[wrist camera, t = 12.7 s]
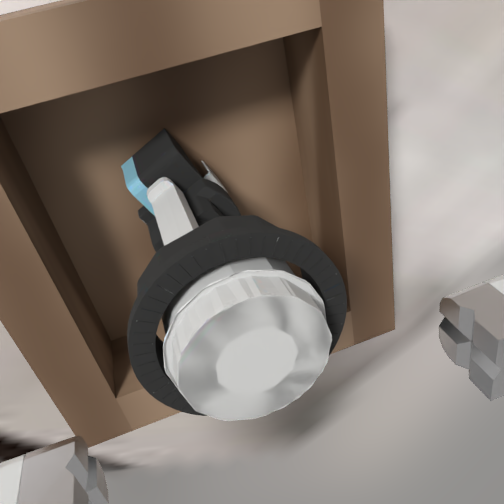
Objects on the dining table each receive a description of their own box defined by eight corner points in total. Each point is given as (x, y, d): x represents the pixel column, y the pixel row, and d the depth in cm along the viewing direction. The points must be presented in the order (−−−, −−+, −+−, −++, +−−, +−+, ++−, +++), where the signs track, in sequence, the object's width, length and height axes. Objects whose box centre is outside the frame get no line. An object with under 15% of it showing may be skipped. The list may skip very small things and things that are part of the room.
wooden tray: (314, -61, 17) (380, -71, 13) (348, 276, 25) (394, 329, 21) (-104, 40, 14) (-169, 61, 11) (84, 371, 23) (84, 449, 19)
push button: (285, 214, 21) (421, 373, 12) (192, 290, 21) (263, 492, 13) (187, 92, 17) (289, 203, 9) (77, 188, 17) (73, 380, 9)
